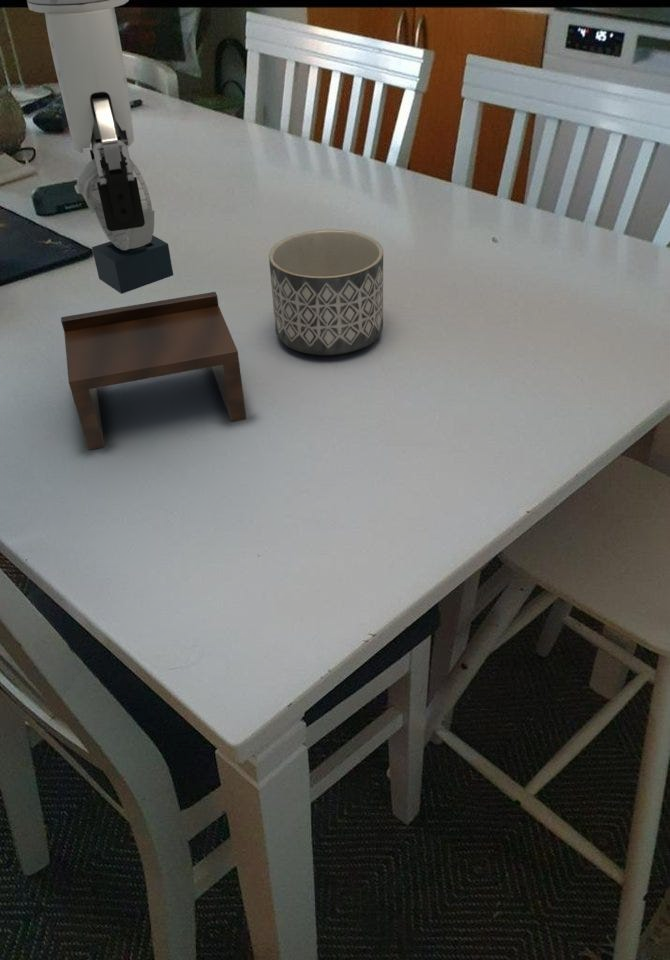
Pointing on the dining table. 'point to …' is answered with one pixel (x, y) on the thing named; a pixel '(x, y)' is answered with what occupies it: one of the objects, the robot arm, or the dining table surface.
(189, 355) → the shelf
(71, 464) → the dining table surface
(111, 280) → the watch
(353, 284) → the planter
